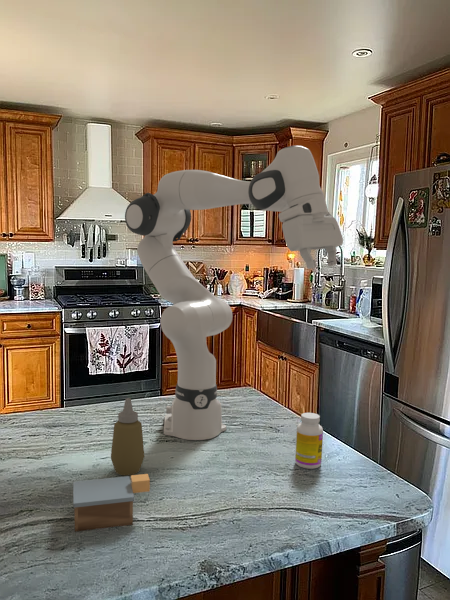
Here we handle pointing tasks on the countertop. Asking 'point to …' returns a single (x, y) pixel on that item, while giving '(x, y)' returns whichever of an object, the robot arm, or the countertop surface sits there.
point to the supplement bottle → (309, 441)
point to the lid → (109, 490)
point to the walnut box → (103, 516)
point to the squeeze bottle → (127, 442)
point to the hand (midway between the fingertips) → (322, 266)
